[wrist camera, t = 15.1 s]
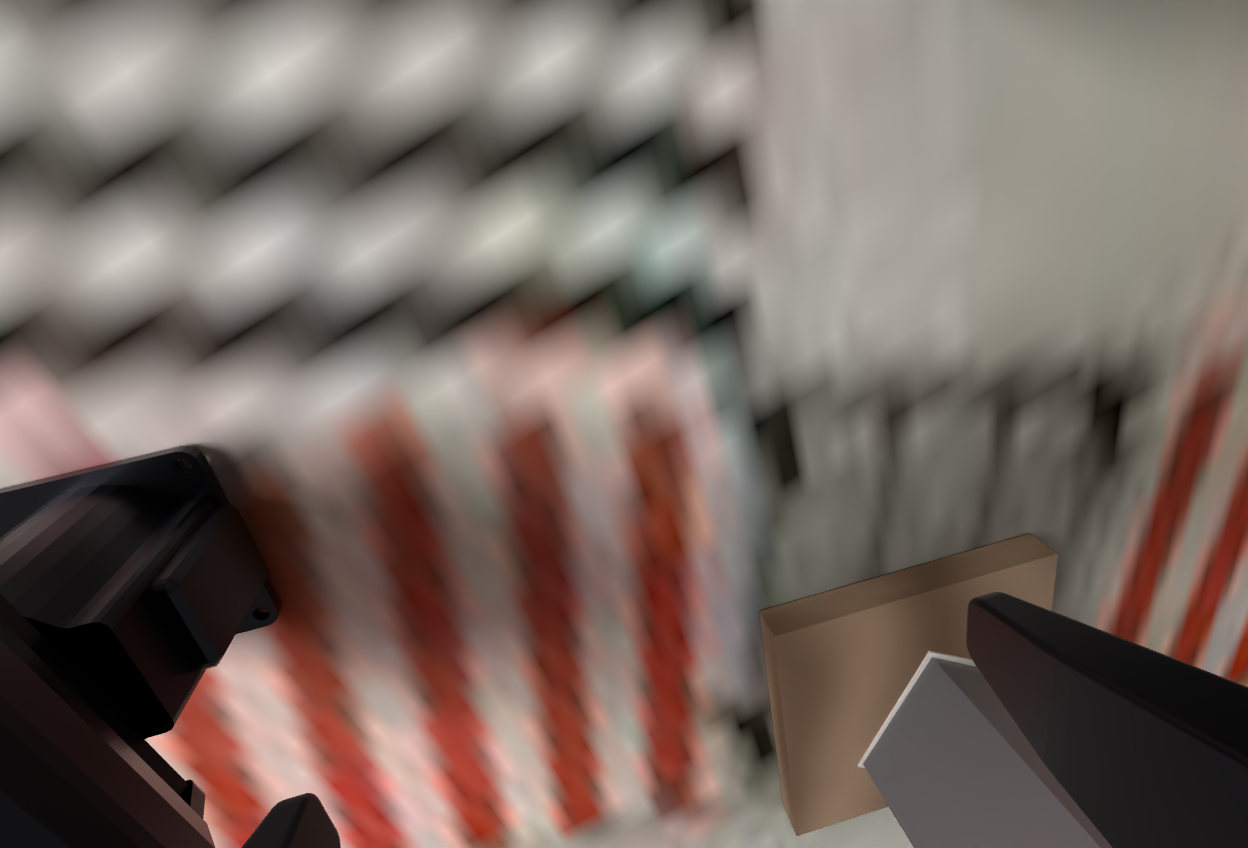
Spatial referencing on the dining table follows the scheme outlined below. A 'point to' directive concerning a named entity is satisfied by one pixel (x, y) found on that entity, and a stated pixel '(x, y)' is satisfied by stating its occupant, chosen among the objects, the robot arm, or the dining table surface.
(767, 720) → the dining table surface
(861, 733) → the board
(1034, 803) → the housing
